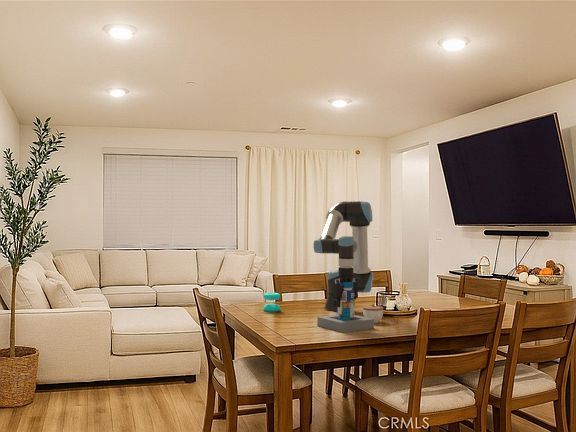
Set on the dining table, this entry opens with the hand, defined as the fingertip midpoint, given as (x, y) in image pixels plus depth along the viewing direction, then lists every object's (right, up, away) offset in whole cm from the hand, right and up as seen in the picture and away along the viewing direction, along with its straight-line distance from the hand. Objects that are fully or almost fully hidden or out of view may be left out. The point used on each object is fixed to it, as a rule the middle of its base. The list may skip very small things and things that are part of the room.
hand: (345, 313), depth 302 cm
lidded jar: (+16, -7, +16) cm, 24 cm away
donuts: (-38, -7, +49) cm, 63 cm away
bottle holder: (0, -7, 0) cm, 7 cm away
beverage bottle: (0, -4, 0) cm, 4 cm away
